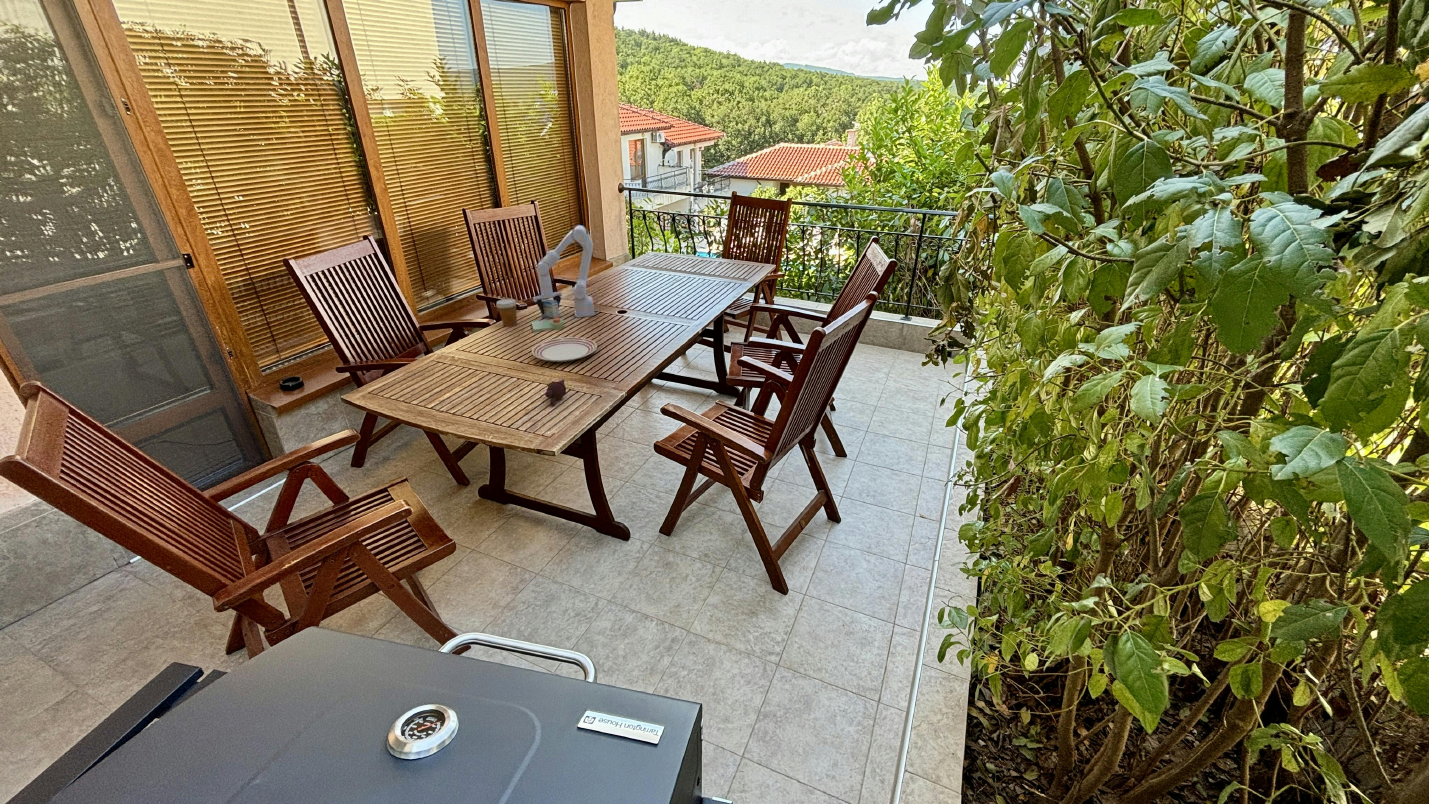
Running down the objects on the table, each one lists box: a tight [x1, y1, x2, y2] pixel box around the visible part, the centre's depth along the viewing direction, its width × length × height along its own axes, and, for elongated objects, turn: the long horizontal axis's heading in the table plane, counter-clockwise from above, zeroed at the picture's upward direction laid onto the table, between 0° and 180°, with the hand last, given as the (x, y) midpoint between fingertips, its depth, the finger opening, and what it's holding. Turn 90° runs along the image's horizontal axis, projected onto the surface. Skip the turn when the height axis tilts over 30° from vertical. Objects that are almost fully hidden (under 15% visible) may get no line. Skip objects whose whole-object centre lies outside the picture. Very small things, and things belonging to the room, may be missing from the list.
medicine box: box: [541, 299, 560, 319], centre depth 302 cm, size 8×4×9 cm, turn 68°
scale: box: [530, 318, 564, 333], centre depth 291 cm, size 15×13×3 cm
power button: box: [553, 317, 561, 323], centre depth 288 cm, size 3×3×2 cm
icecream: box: [544, 379, 567, 407], centre depth 220 cm, size 7×7×15 cm
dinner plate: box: [531, 336, 598, 363], centre depth 258 cm, size 27×27×3 cm
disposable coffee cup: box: [495, 298, 518, 328], centre depth 292 cm, size 10×10×12 cm
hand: (550, 312), depth 303 cm, fingers closed on medicine box, 7 cm apart
